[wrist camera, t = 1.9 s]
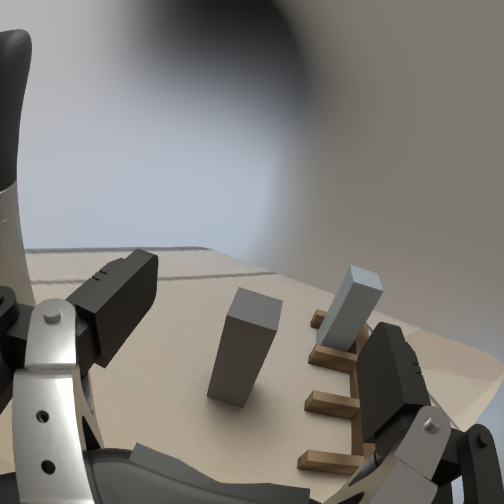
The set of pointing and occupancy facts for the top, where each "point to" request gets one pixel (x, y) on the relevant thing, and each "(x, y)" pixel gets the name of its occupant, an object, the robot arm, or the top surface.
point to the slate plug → (350, 309)
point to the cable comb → (337, 405)
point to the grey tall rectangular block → (244, 345)
